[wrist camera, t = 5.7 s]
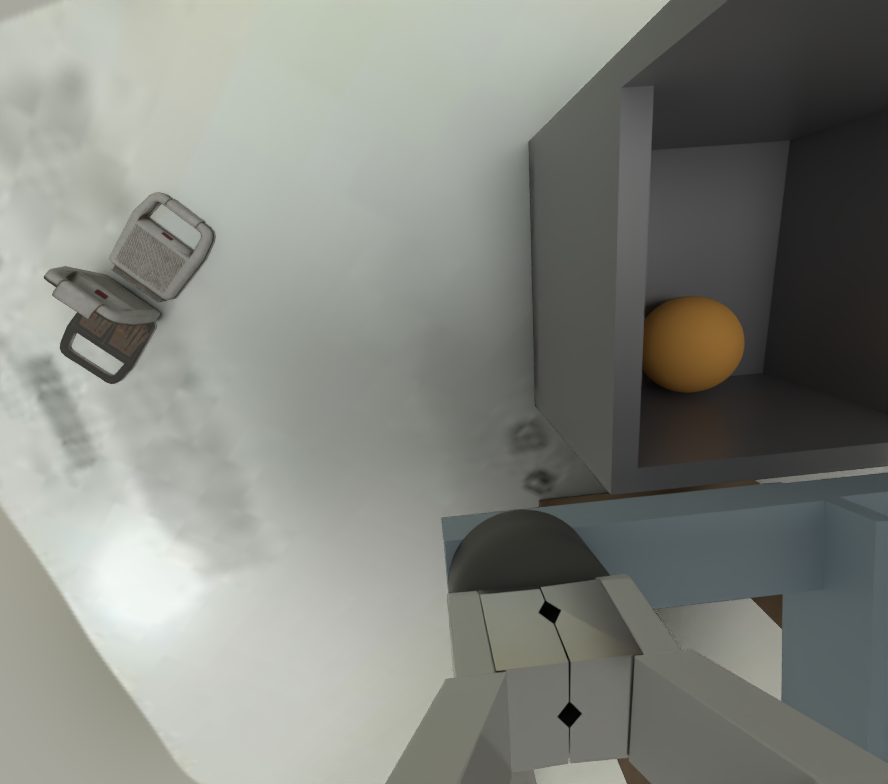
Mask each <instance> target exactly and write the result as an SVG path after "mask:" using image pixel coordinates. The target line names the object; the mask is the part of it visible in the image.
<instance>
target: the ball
mask: <svg viewBox="0 0 888 784" xmlns="http://www.w3.org/2000/svg"><path fill="white" fill-rule="evenodd" d="M744 344H745V342H744V333H743V329H742V326H741V324H740V322H739V320H738V319H737V317H736V316H735V315H734V313H733V312H732V311H731V310H730V309H729V308H727V307H726V306H725V305H723V304H722V303H720V302H718V301H715V300H713V299H710V298H706V297H701V296H684V297H679V298H675V299H672V300H669V301H667V302H665V303H663V304H661V305H660V306H658V307H657V308H656V309H654V310H653V311H652V312H651V313H650V314H649V315H648V316H647V317H646V319H645V320H644V333H643V357H642V369H643V371H644V372H645V374H646V375H647V376H648V377H649V378H650V379H651V380H652V381H654V382H655V383H656V384H658V385H660V386H661V387H663V388H666V389H669V390H672V391H676V392H682V393H693V392H700V391H704V390H707V389H710V388H712V387H714V386H717V385H718V384H720V383H721V382H723V381H724V380H726V379H727V378H728V377H729V376H730V375H731V374H732V373H733V372H734V370H735V369H736V368H737V366H738V364H739V363H740V360H741V358H742V355H743V352H744Z"/></svg>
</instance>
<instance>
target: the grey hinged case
mask: <svg viewBox="0 0 888 784" xmlns="http://www.w3.org/2000/svg"><path fill="white" fill-rule="evenodd" d="M160 204H163V205H165V206H166V207H167V208H169V209H170V210H171V211H173V212H174V213H175V214H177V215H178V216H179V217H181V218H182V219H184V220H185V221H186V222H188V223H189V224H190V225H192V226H193V227H194V228H195V229H197V230H198V231H199V232H200V233H201V239H200V241H199V243H198V245H197V246H196V248H195V250H193V249H192V248H190V247H189V246H187V245H186V244H185V243H183V242H182V241H181V240H179V239H178V238H177V237H175V236H174V235H173V234H171V233H170V232H168V231H167V230H166V229H164V228H163V227H162V226H160V225H159V224H158V223H156V222H155V221H153V220H152V219H151V218H149V217H150V216H151V215H152V214H153V212H154V211H155V210H156V209H157V208H158V206H159V205H160ZM214 242H215V232H214V230H213V229H212V228H211V227H210V226H208V225H207V224H206V223H205V221H203V220H202V219H201V218H199V217H198V216H197V215H195V214H194V213H193V212H191V211H190V210H189V209H187V208H186V207H185V206H183V205H182V204H181V203H179V202H178V201H177V200H174V199H173V198H171V197H170V196H168V195H166V194H163V193H159V192H158V193H153V194H151V195H149V196H148V197H147V198H146V199H145V200H144V201H143V202H142V203H141V204H140V205H139V206H138V207H137V208H136V209H135V210H134V211H133V213H132V215H131V217H130V218H129V220H128V222H127V224H126V226H125V228H124V230H123V232H122V234H121V236H120V237H119V239H118V241H117V243H116V245H115V247H114V249H113V251H112V253H111V255H110V258H109V259H110V261H111V262H112V263H113V264H114V265H115V266H114V268H113V269H112V270H113V271H114V272H116V273H117V274H118V275H120V276H121V277H123V278H124V279H126V280H127V281H129V282H130V283H131V284H133V285H134V286H136V287H137V288H139V289H140V290H141V291H143V292H144V293H146V294H147V295H149V296H150V297H152V298H153V299H154V300H156V301H157V302H161V301H162V300H164V301H167V300H169V299H175V298H177V297H178V296H179V295H180V293H181V292H182V291H183V290H184V288H185V287H186V286H187V284H188V283H189V282H190V281H191V279H192V278H193V277H194V275H195V274H196V273H197V271H198V270H199V269H200V268H201V266H202V265H203V264H204V262H205V261H206V260H207V258H208V256H209V253H210V251H211V249H212V247H213V244H214ZM44 279H45V280H47V281H48V282H49V283H51V284H52V285H54V286H55V287H56V289H55V290H54V291H53V294H52V295H53V296H54V297H55V298H57V299H58V300H60V301H61V302H63V303H64V304H66V305H67V306H69V307H70V308H72V309H73V310H75V311H76V312H77V313H76V315H75V316H74V317H73V319H72V320H71V322H70V323H69V324H68V326H67V328H66V330H65V333H64V335H63V338H62V340H61V343H60V350H61V352H62V353H63V354H64V355H65V356H66V357H68V358H69V359H71V360H72V361H74V362H76V363H77V364H79V365H80V366H82V367H84V368H85V369H87V370H88V371H90V372H91V373H93V374H94V375H96V376H98V377H99V378H101V379H102V380H104V381H105V382H107V383H110V384H115V383H117V382H119V381H121V380H123V379H124V378H125V377H126V376H127V374H128V373H129V372H130V371H131V370H132V369H133V368H134V367H135V365H136V364H137V362H138V360H139V358H140V356H141V355H142V353H143V351H144V349H145V348H146V346H147V344H148V342H149V341H150V339H151V337H152V335H153V333H154V332H155V330H156V327H157V325H156V323H155V321H156V320H157V319H158V317H159V316H160V313H159V312H158V311H157V310H156V309H154V308H153V307H151V306H150V305H148V304H147V303H145V302H144V301H142V300H141V299H140V298H138V297H137V296H135V295H134V294H132V293H131V292H129V291H128V290H127V289H125V288H124V287H122V286H121V285H119V284H118V283H116V282H115V281H114V280H112V279H111V278H109V277H108V276H106V275H104V274H100V273H95V272H91V271H86V270H81V269H76V268H71V267H67V266H64V267H59V268H54V269H50V270H49V271H48V272H47V273H46V274H45V276H44ZM76 333H78V334H80V335H81V336H83V337H84V338H86V339H88V340H89V341H91V342H92V343H94V344H95V345H97V346H98V347H100V348H101V349H103V350H104V351H106V352H107V353H109V354H111V355H112V356H114V357H115V358H117V359H118V360H120V361H121V362H123V363H124V365H123V366H122V367H121V368H120V370H119V371H118V372H117V373H116V374H115V375H112V374H110V373H108V372H106V371H105V370H103V369H102V368H100V367H98V366H97V365H95V364H94V363H92V362H91V361H89V360H88V359H86V358H84V357H83V356H81V355H80V354H78V353H77V352H75V351H74V350H73V349H72V347H71V345H72V342H73V340H74V338H75V335H76Z"/></svg>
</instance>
